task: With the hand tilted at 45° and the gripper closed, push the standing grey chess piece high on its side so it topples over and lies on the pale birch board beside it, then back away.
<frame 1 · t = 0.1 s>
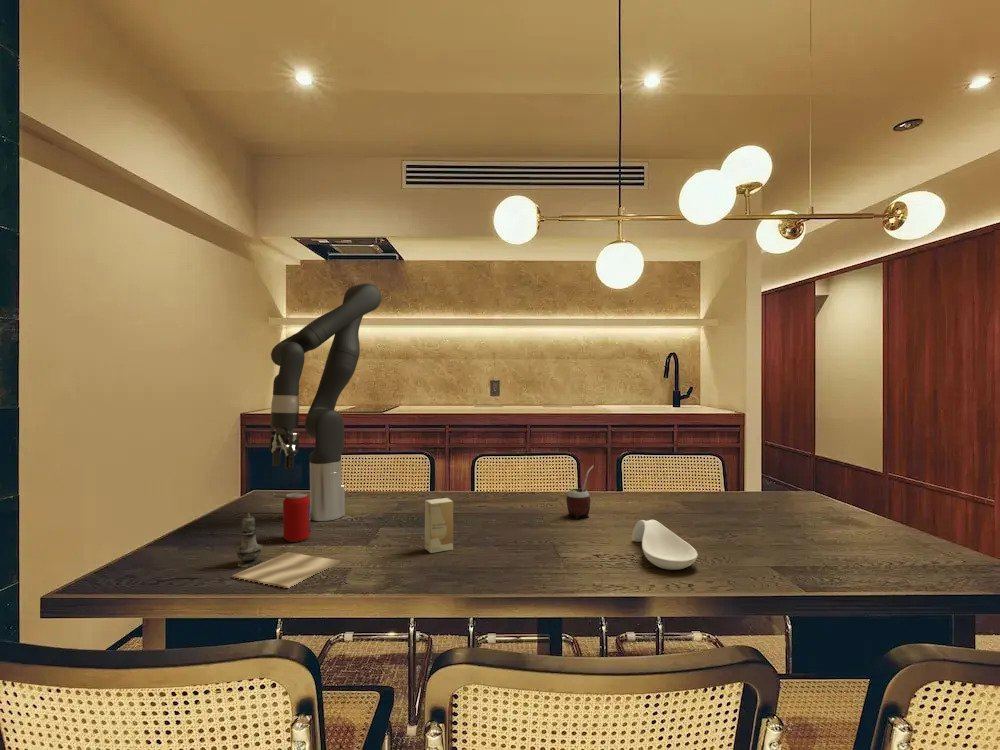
hand: (282, 467, 155), 17 cm above the table, tool pointing down, fingers open, 8 cm apart
skincare box: (439, 550, 134), on the table
grey chess piece: (249, 564, 126), on the table
spoon rest: (658, 558, 127), on the table
mate gourd: (579, 517, 162), on the table
beverage can: (297, 540, 144), on the table
birch board: (288, 570, 122), on the table
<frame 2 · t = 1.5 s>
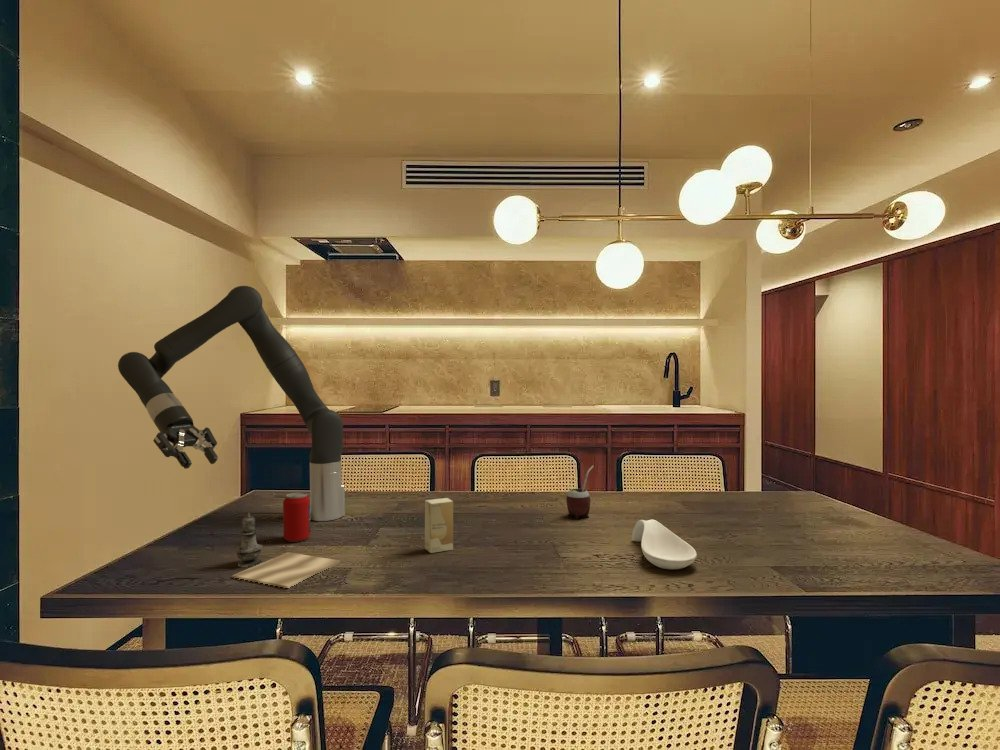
hand: (202, 463, 132), 23 cm above the table, tool tilted 45°, fingers open, 6 cm apart
nothing on the table moved.
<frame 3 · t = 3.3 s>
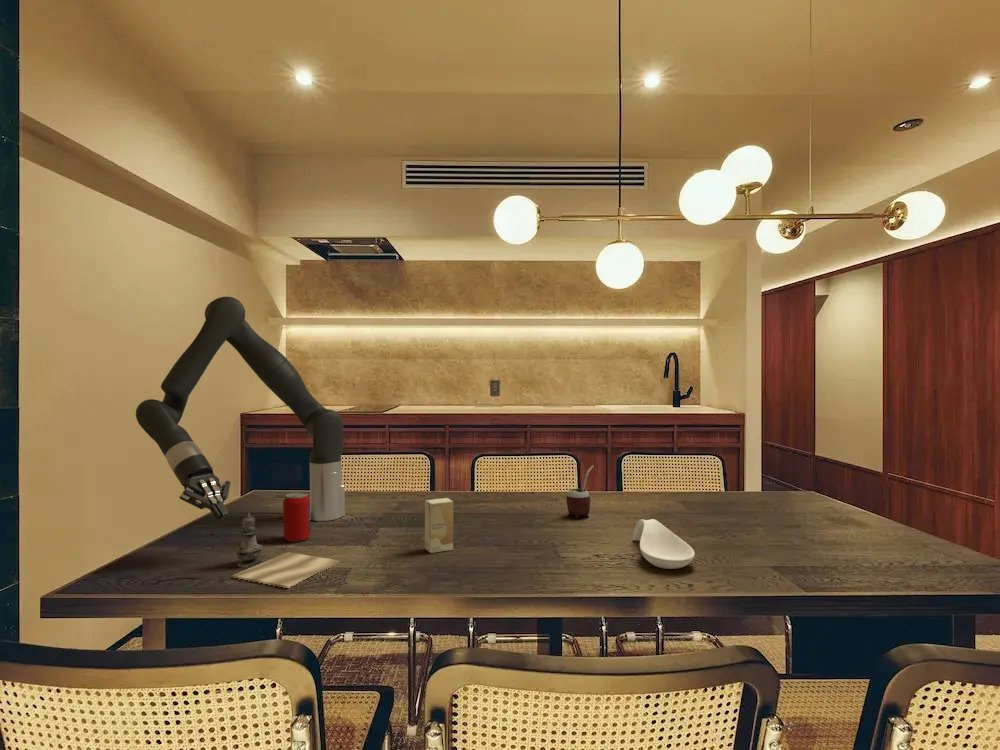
hand: (223, 517, 129), 10 cm above the table, tool tilted 45°, fingers closed
nothing on the table moved.
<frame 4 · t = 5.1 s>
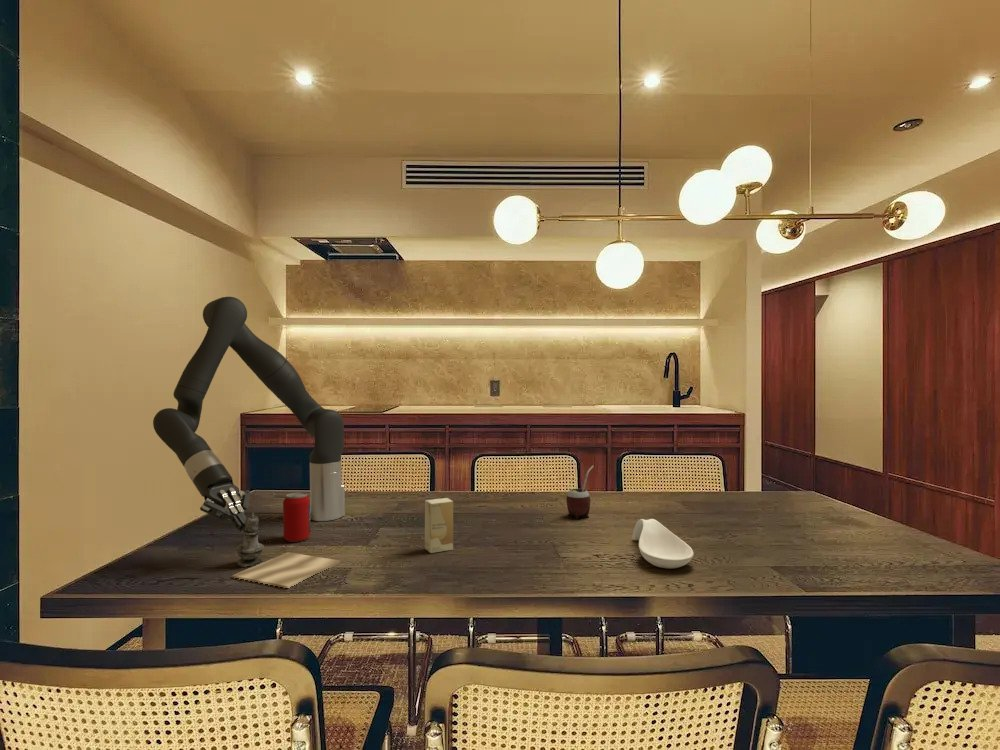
hand: (245, 528, 127), 8 cm above the table, tool tilted 45°, fingers closed
grey chess piece: (249, 562, 126), on the table, touching gripper
everything else where it was.
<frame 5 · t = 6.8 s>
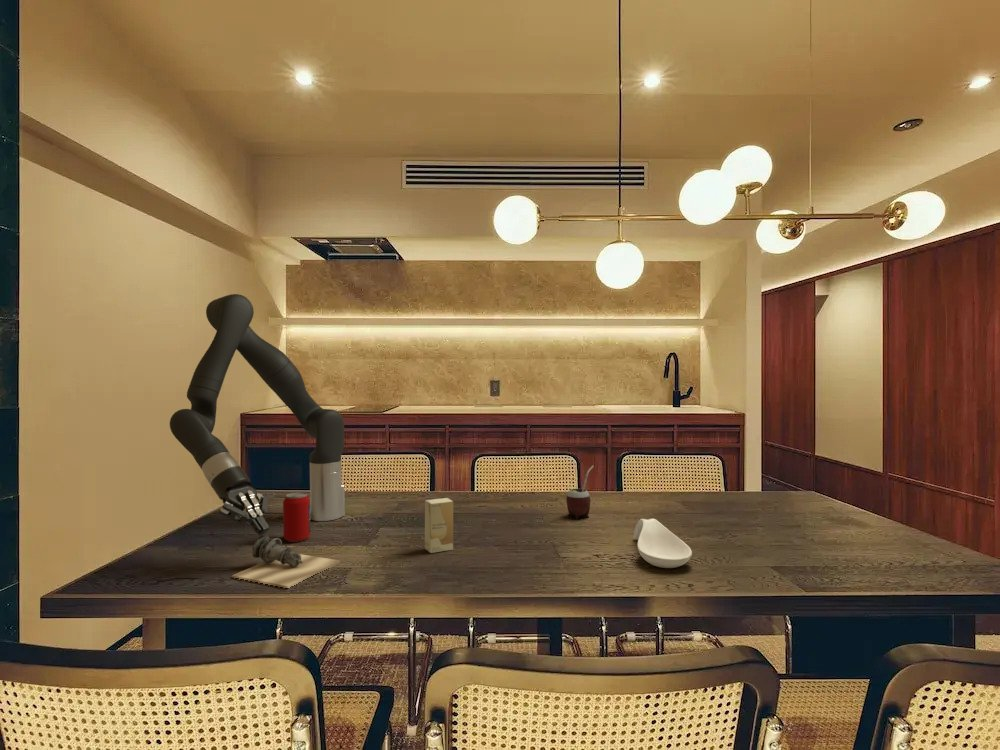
hand: (264, 532, 124), 8 cm above the table, tool tilted 45°, fingers closed
grey chess piece: (259, 545, 125), point 4 cm above the table, touching birch board
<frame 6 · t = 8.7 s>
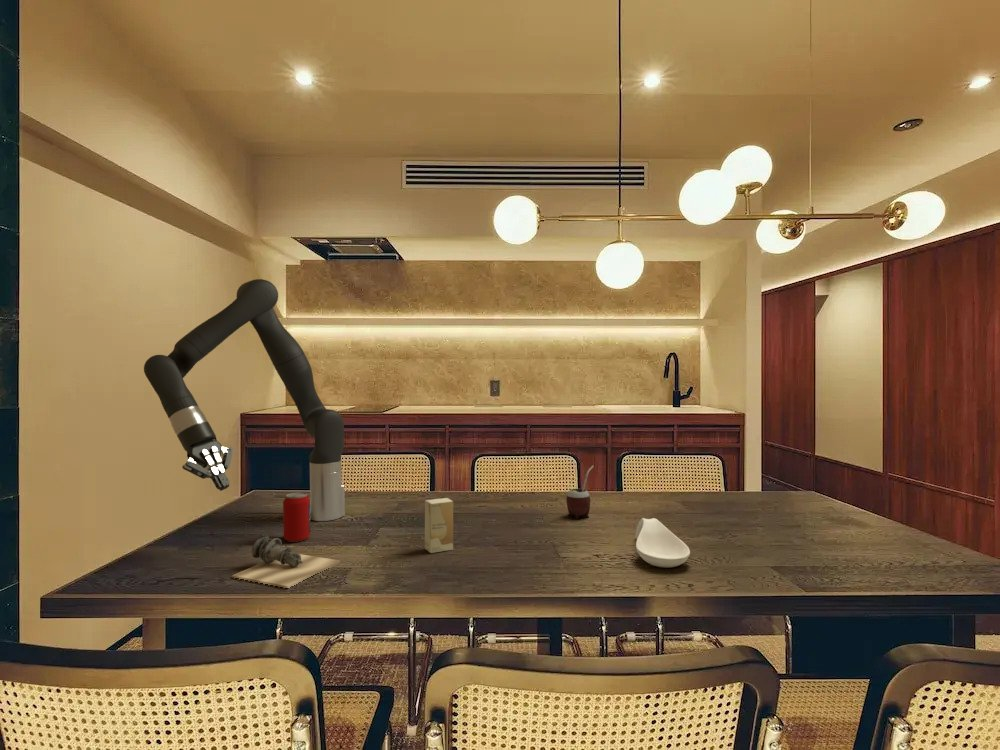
hand: (225, 488, 134), 16 cm above the table, tool tilted 30°, fingers closed
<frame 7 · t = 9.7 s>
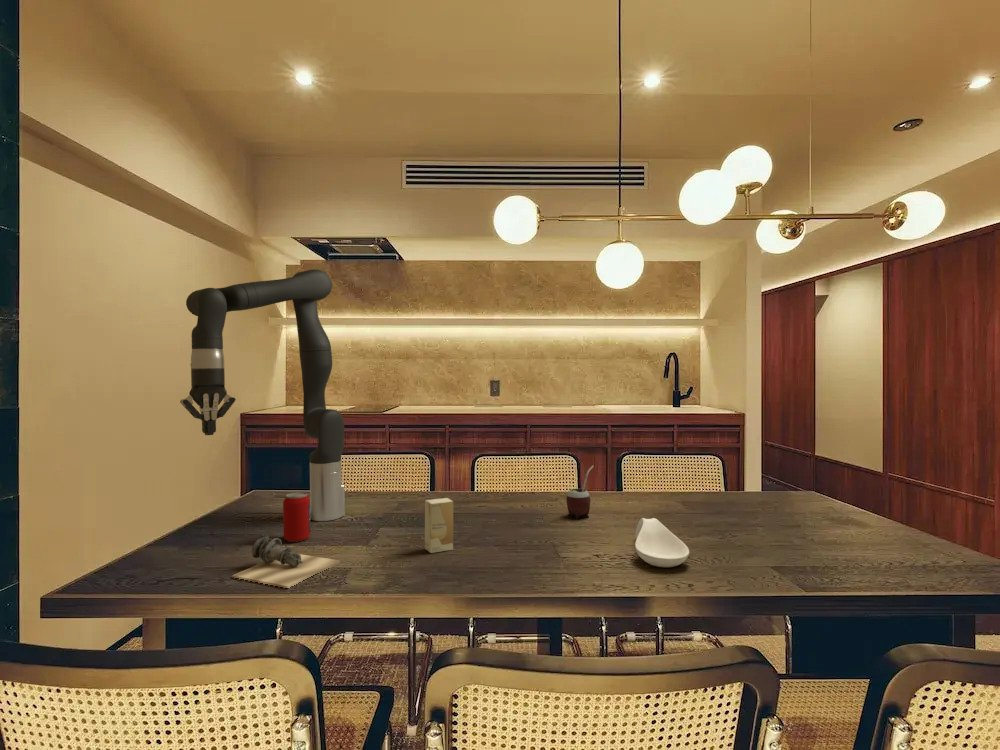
hand: (209, 434, 138), 29 cm above the table, tool pointing down, fingers closed
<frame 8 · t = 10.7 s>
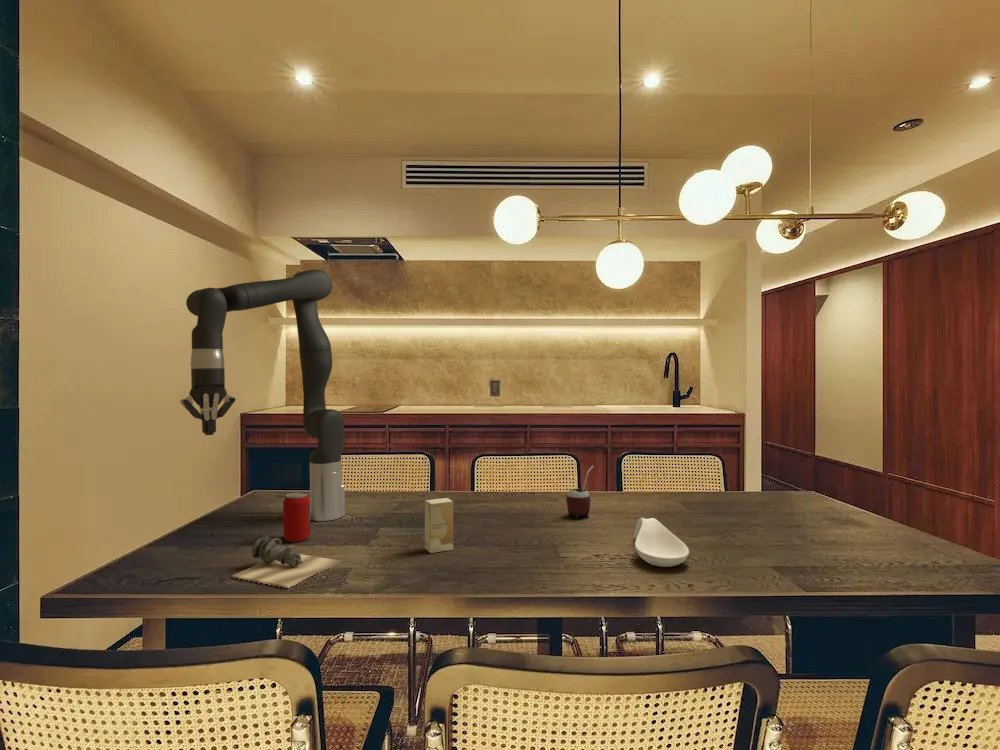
hand: (209, 434, 138), 29 cm above the table, tool pointing down, fingers closed
at the end: grey chess piece tilted 103°; grey chess piece touching birch board; grey chess piece inside the target area (1.1 cm from its centre), point 4.4 cm above the table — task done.
